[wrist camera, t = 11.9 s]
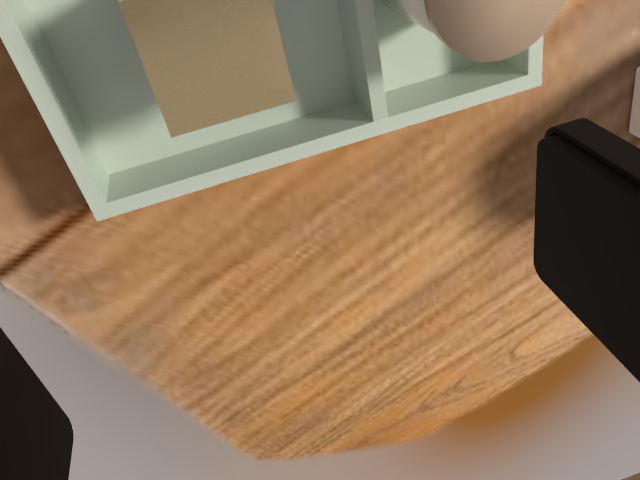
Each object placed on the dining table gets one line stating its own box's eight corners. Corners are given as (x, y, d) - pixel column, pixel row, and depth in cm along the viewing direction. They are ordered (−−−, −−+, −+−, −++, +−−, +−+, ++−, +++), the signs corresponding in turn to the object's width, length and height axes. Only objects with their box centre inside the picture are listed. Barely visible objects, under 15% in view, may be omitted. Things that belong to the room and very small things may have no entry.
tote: (500, -242, 25) (553, -259, 22) (503, 64, 33) (541, 85, 30) (-44, -109, 23) (-75, -106, 20) (102, 184, 31) (97, 221, 28)
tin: (236, -58, 26) (262, -38, 20) (265, 54, 29) (295, 101, 23) (124, -28, 25) (118, 2, 19) (165, 83, 28) (171, 137, 22)
